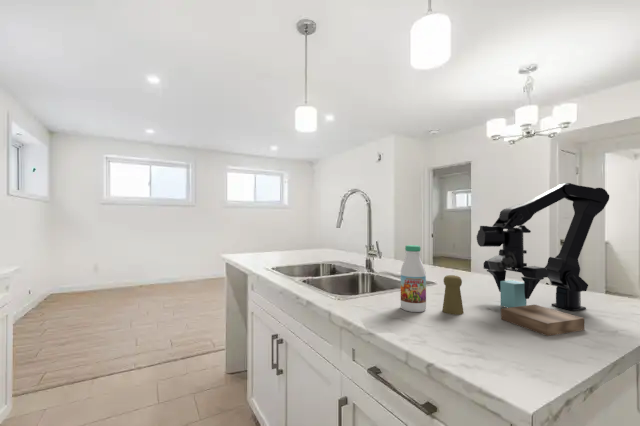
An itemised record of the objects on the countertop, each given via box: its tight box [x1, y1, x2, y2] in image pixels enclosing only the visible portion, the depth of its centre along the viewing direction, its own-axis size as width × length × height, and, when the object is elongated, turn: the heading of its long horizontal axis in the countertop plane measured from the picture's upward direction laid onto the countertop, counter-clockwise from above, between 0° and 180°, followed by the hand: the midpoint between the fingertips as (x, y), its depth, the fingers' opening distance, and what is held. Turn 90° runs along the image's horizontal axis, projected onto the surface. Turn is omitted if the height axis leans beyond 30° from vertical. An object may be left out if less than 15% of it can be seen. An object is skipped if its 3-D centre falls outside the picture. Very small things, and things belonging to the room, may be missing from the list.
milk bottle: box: [400, 244, 427, 313], centre depth 97 cm, size 8×8×20 cm
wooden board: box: [500, 304, 586, 337], centre depth 83 cm, size 13×13×3 cm
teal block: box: [500, 279, 527, 308], centre depth 99 cm, size 5×5×8 cm
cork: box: [442, 274, 464, 316], centre depth 94 cm, size 6×6×11 cm
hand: (513, 295), depth 99 cm, fingers open, 9 cm apart
